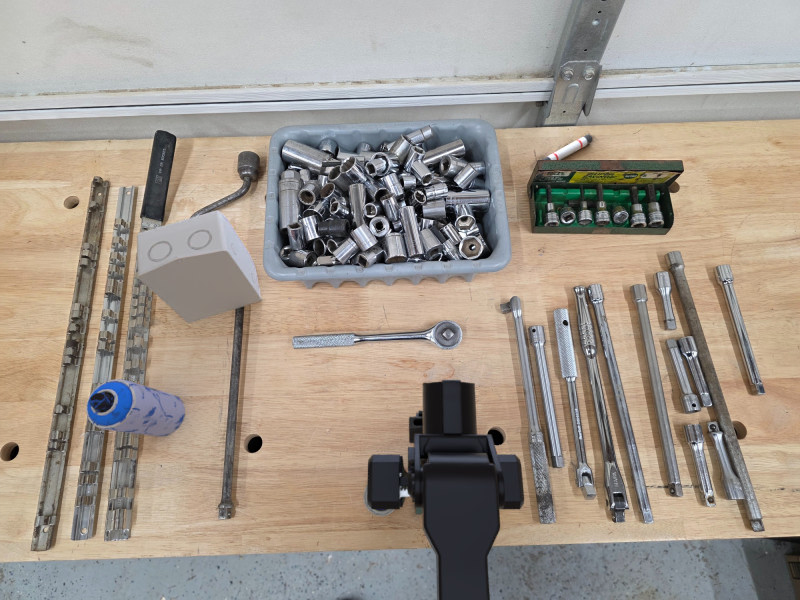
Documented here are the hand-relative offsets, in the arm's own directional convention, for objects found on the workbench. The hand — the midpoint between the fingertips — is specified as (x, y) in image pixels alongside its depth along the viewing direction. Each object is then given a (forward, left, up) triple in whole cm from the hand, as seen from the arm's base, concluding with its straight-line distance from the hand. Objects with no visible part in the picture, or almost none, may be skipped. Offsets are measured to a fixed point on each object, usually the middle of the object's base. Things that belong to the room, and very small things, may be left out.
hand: (440, 479), depth 63 cm
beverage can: (-2, +8, -16) cm, 18 cm away
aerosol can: (+10, +48, -16) cm, 52 cm away
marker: (+66, -30, -16) cm, 74 cm away
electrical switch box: (+37, +42, -16) cm, 59 cm away
